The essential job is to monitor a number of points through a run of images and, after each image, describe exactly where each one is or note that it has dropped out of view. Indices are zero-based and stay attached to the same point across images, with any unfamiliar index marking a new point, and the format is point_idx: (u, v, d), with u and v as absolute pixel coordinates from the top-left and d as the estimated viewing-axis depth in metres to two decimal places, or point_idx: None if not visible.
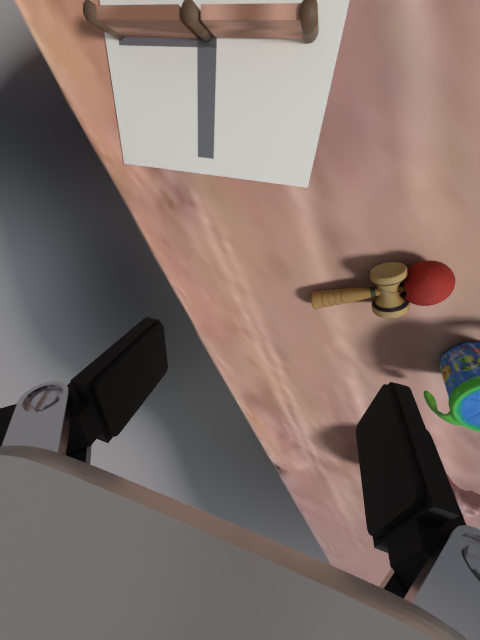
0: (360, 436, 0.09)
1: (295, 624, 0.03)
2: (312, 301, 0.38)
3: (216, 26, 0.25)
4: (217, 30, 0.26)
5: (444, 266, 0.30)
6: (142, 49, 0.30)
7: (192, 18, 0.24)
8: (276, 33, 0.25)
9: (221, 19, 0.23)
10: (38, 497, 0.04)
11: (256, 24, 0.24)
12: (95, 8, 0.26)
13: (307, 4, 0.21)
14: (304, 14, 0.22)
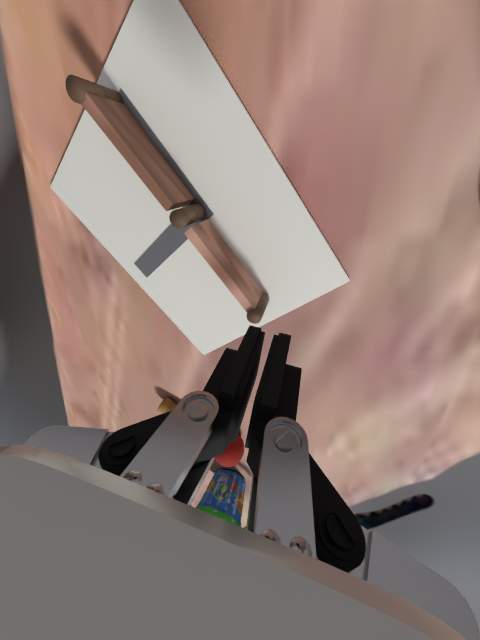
0: None
1: (294, 623, 0.03)
2: (159, 408, 0.44)
3: None
4: None
5: (239, 452, 0.42)
6: None
7: (177, 226, 0.22)
8: None
9: (199, 252, 0.23)
10: (38, 497, 0.04)
11: None
12: (84, 96, 0.19)
13: (255, 314, 0.25)
14: (250, 316, 0.25)
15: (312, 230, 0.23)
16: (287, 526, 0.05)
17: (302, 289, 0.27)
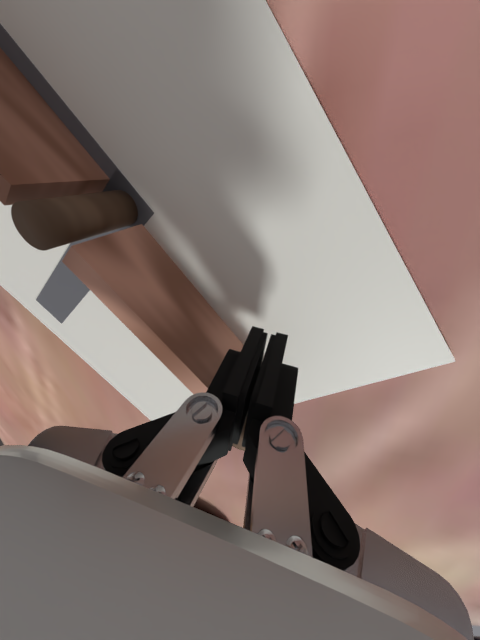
0: None
1: (294, 624, 0.03)
2: None
3: None
4: None
5: None
6: None
7: (38, 245, 0.09)
8: None
9: (106, 305, 0.09)
10: (38, 497, 0.04)
11: None
12: None
13: None
14: None
15: (380, 251, 0.10)
16: (283, 526, 0.05)
17: (342, 366, 0.13)
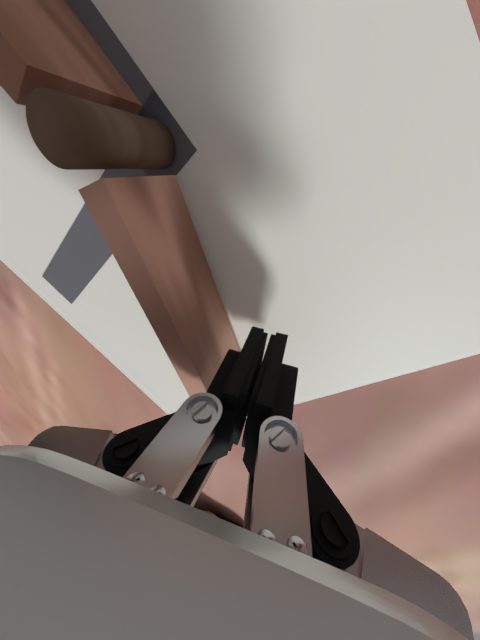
0: None
1: (295, 623, 0.03)
2: None
3: None
4: None
5: None
6: None
7: (62, 162, 0.06)
8: None
9: (118, 262, 0.08)
10: (38, 497, 0.04)
11: None
12: None
13: None
14: None
15: None
16: (283, 526, 0.05)
17: (416, 341, 0.11)
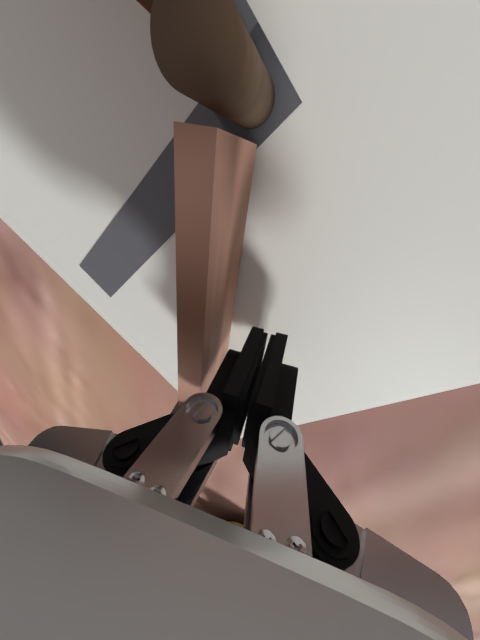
0: None
1: (294, 624, 0.03)
2: None
3: None
4: None
5: None
6: None
7: (191, 85, 0.05)
8: None
9: (176, 226, 0.06)
10: (38, 497, 0.04)
11: None
12: None
13: None
14: None
15: None
16: (283, 525, 0.05)
17: None
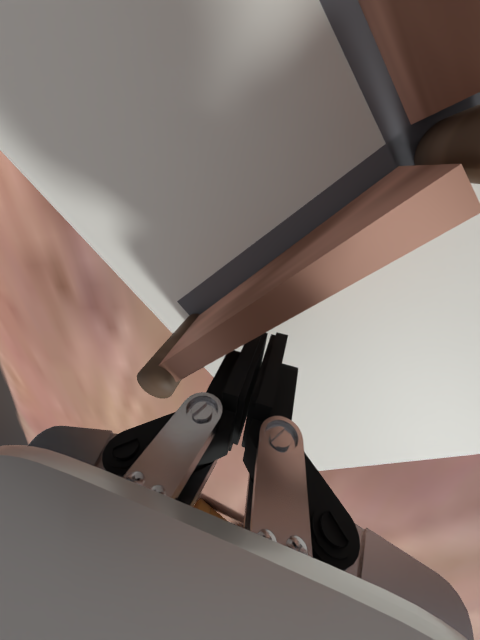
0: None
1: (294, 625, 0.03)
2: None
3: (380, 201, 0.06)
4: (380, 191, 0.07)
5: None
6: None
7: None
8: (227, 299, 0.10)
9: (345, 243, 0.05)
10: (38, 497, 0.04)
11: (244, 299, 0.08)
12: None
13: (162, 388, 0.10)
14: (153, 378, 0.09)
15: None
16: (283, 526, 0.05)
17: None
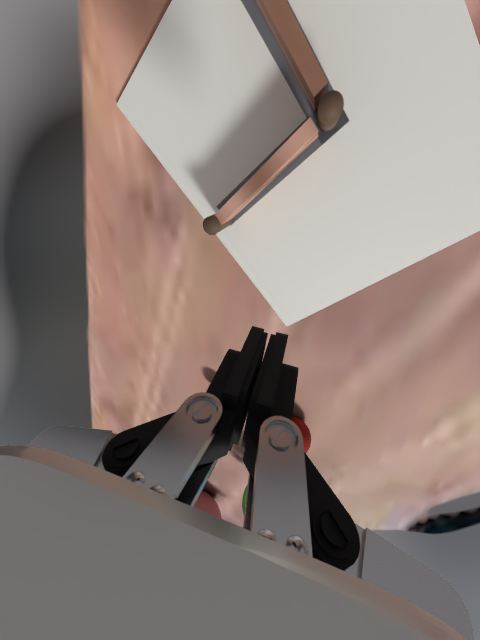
0: None
1: (295, 623, 0.03)
2: None
3: None
4: None
5: (309, 440, 0.36)
6: (249, 24, 0.18)
7: (327, 119, 0.16)
8: None
9: (284, 144, 0.17)
10: (38, 497, 0.04)
11: None
12: None
13: (214, 227, 0.22)
14: (211, 221, 0.21)
15: None
16: (282, 525, 0.05)
17: (454, 223, 0.21)
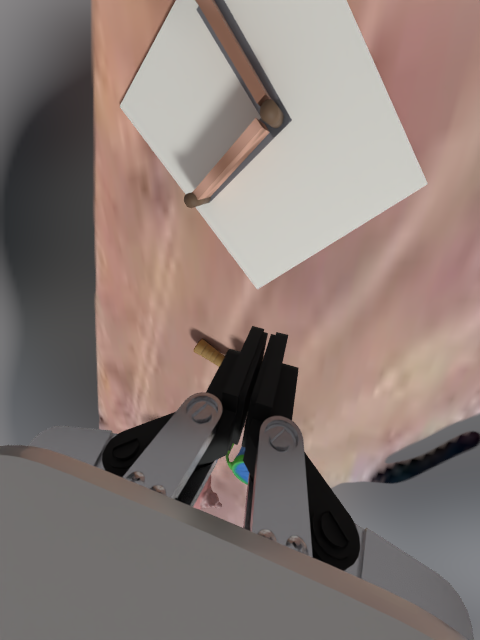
0: None
1: (294, 623, 0.03)
2: (195, 348, 0.45)
3: None
4: None
5: None
6: (216, 48, 0.24)
7: (267, 119, 0.22)
8: None
9: (239, 137, 0.24)
10: (38, 497, 0.04)
11: None
12: None
13: (192, 201, 0.28)
14: (190, 197, 0.28)
15: (395, 128, 0.24)
16: (283, 525, 0.05)
17: (374, 199, 0.27)
